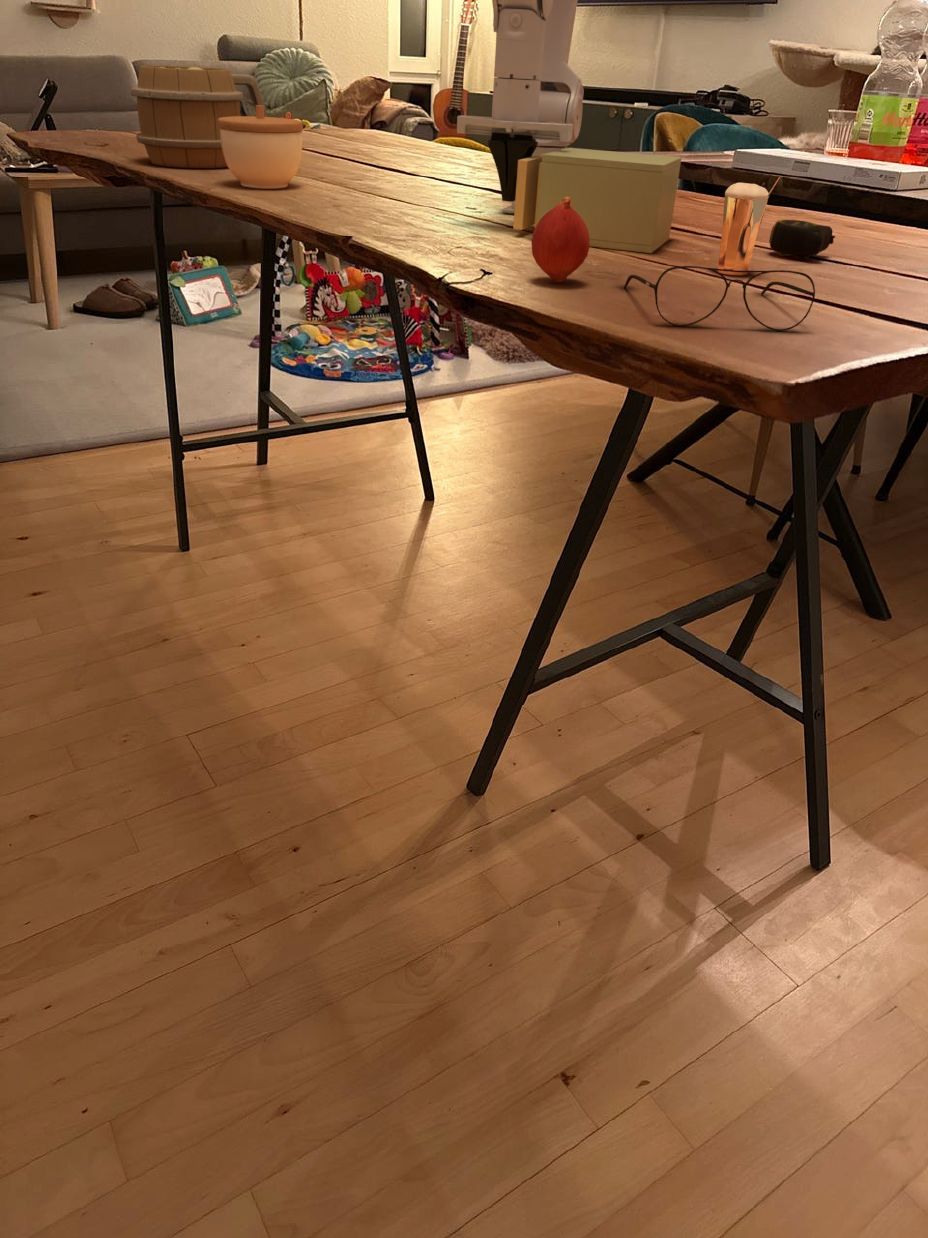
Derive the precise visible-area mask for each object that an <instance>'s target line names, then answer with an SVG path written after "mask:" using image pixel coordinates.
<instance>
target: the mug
mask: <svg viewBox="0 0 928 1238" xmlns="http://www.w3.org/2000/svg"><path fill="white" fill-rule="evenodd" d="M138 70H139V71H138V76H137V77H138V78H137V84H136V86H133V87H131V88H130V96H131V97H136V107H137V115H138V122H139V123H138V124H139V130H140V132H139V133H136V134H135V137H136V140H137V141H136V142H137V143H138V144H141V145H144V147H145V150H146V153H147V156H148V158H149V160H150V163H151V164H152V165H156V166H159V167H167V168H177V169H207V170H208V169H227V168H228V166H227V164H226V162H225V159H224V155H223V152H222V147H221V140H220V129H219V127H218V119H219V118H222V117H234V116H241V108H240V101H243V100H244V99H245V98H244V94H243V92H242V91H240V90H237V88H236V86H246V88H247V90H248V92H249V95H250V98H251V101H252V104H253V108H254V111H255V112H256V105H262V106H264V117H268V113H267V108H266V105H265V102H264V99H263V95H262V92H261V89H260V86H259V83H258V80H257V79H256V78H255V76H254V75H250V74H243V73H231V70H230V69H227V68H216V67H203V66H202V67H201V66H182V65H152V64H151V65H148V64H147V65H140V66H139V69H138Z"/></svg>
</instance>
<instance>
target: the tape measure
mask: <svg viewBox="0 0 928 1238" xmlns="http://www.w3.org/2000/svg"><path fill="white" fill-rule="evenodd" d="M833 233H834V231H833V228H832V227H831V226H829V225H824V224H823V225H822V224H818V223H815V222H811V221H808V220H807V221H806V220H797V219H780V220H779V219H778V220H777V221H776V222H775V223H774V225H773V226H772V228H771V231H770V235H769V241H768V243H769V247H770V249H771V250H772V251H775V252H777V253H779V256H780V257H782V256H783V257H785V256H801V257H802V256H803V257H804V258H806V259H810V256H811V257H812V256H817V255H818V254H819V253H822V252H824V251H826V250H827V249H828V248H829V247H830V245H833V244H834V239H835V238H836V235H833Z"/></svg>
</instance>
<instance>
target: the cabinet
mask: <svg viewBox="0 0 928 1238" xmlns="http://www.w3.org/2000/svg"><path fill="white" fill-rule="evenodd" d="M681 164H682V157H679V156H671V155H669V156H668V155H659V154H648V153H647V154H646V153H634V152H624V151H614V150H613V151H610V150H601V149H600V150H599V149H589V148H588V149H587V148H579V147H578V148H577V147H576V148H575V147H567V148H566V149H562V150H558V151H554V152H550V153H546V154H542V165H541V177H540V189H539V201H538V214H537V224H538V222H539V221H540V219H541V218H542V217H543V216H544V215H545V214H546V213H547V212H549V211H550V210H551V209H553V208H555V207H556V206H557V205H558V204H559V203H560V202H561V201H562V200H563V198H566V197H570V199H571V207H572V209H573V210H574V211H575V212H577V213H578V214H579V215H580V217H581V218H582V219H583V221H584V223H585V224H586V227H587V229H588V232H589V237H590V248H592V247H593V248H600V249H601V248H602V249H609V250H616V251H617V250H619V251H626V252H634V253H635V252H636V253H644V254H653V253H654V252H655V251H656V250H657V249H659V248H660V247H662V246H663V245H664V244H665V243H666V242H667V241H669V240H670V235H671V230H672V224H673V216H674V209H675V203H676V196H677V189H678V185H679V177H680V171H681Z"/></svg>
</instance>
